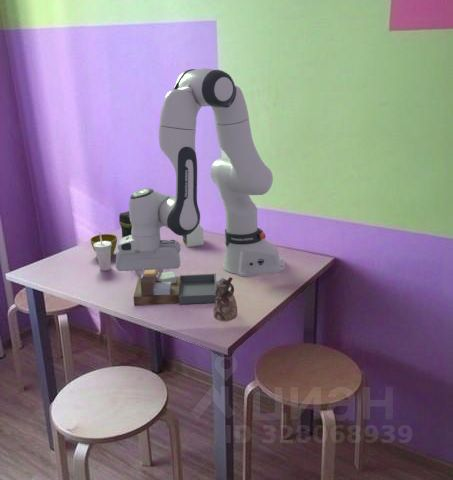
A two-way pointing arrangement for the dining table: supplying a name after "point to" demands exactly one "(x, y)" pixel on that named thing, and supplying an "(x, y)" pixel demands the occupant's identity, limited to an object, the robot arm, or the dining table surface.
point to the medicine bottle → (194, 237)
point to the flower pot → (105, 237)
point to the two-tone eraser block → (148, 282)
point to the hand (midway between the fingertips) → (150, 281)
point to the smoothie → (103, 253)
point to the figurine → (225, 301)
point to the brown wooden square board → (157, 296)
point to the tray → (197, 289)
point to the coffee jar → (125, 224)
